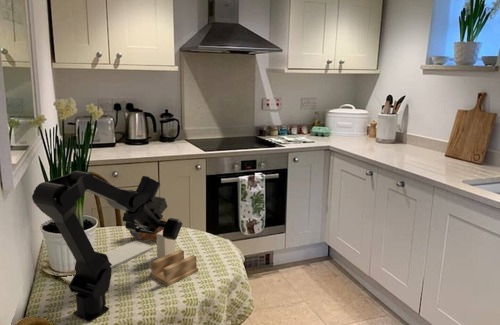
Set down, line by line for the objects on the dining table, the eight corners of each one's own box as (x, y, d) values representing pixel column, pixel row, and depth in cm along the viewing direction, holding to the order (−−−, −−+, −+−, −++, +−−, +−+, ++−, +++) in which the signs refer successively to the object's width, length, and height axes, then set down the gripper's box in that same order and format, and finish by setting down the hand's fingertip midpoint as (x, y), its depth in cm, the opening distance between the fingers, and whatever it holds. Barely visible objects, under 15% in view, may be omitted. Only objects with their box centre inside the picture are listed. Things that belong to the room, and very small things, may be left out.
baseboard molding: (52, 276, 125) (75, 288, 118) (51, 267, 124) (74, 279, 118) (130, 242, 150) (153, 250, 144) (130, 235, 149) (153, 243, 143)
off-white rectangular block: (165, 263, 133) (164, 235, 131) (157, 261, 134) (156, 233, 132) (175, 255, 139) (174, 229, 136) (167, 254, 140) (166, 227, 138)
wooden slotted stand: (168, 286, 119) (167, 270, 118) (150, 275, 125) (149, 261, 124) (197, 271, 128) (197, 257, 127) (179, 262, 134) (179, 248, 133)
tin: (129, 239, 151) (128, 218, 149) (132, 236, 154) (131, 215, 152) (169, 241, 150) (168, 220, 149) (170, 237, 154) (170, 217, 152)
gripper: (178, 196, 122) (197, 218, 134) (129, 187, 129) (151, 209, 141) (164, 229, 116) (185, 249, 129) (113, 219, 123) (138, 238, 136)
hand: (164, 235), depth 134 cm, fingers open, 9 cm apart
